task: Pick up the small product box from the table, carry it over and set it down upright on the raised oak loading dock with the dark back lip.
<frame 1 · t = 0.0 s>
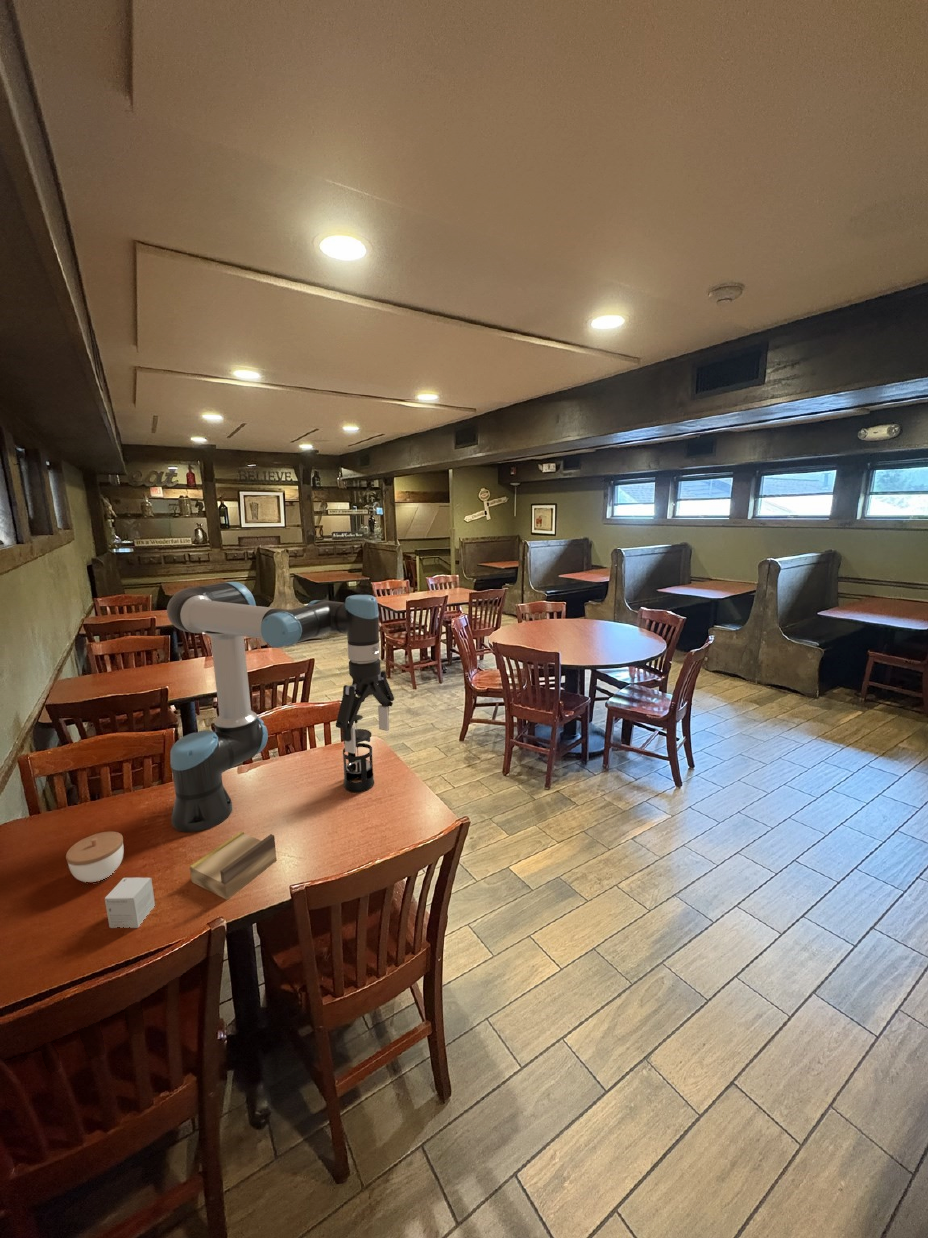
hand: (368, 740, 122), 28 cm above the table, fingers open, 13 cm apart
dock: (235, 871, 117), on the table
lidded jar: (100, 875, 116), on the table
french press: (358, 784, 154), on the table
product box: (133, 917, 103), on the table
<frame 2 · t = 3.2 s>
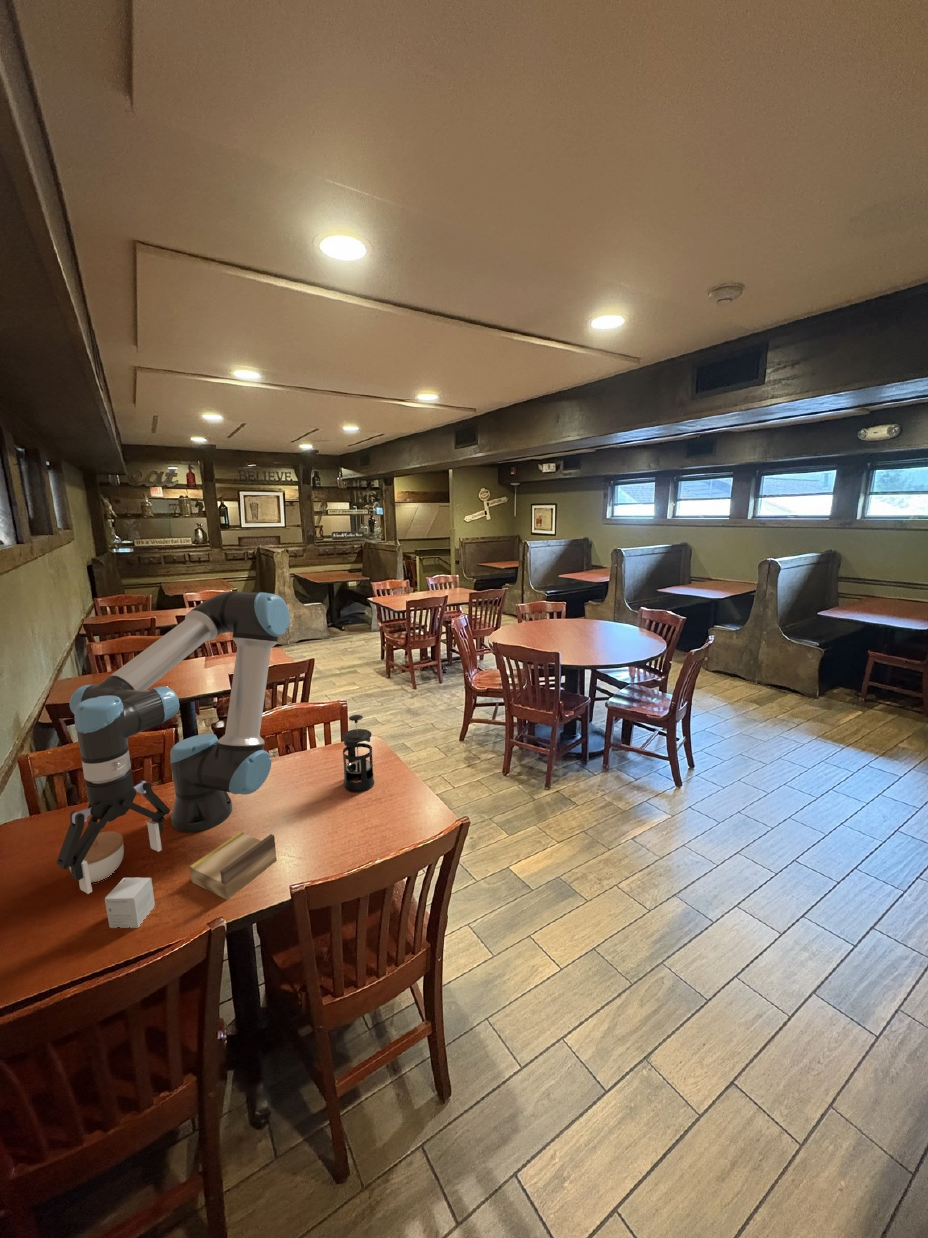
hand: (123, 868, 101), 12 cm above the table, fingers open, 13 cm apart
nothing on the table moved.
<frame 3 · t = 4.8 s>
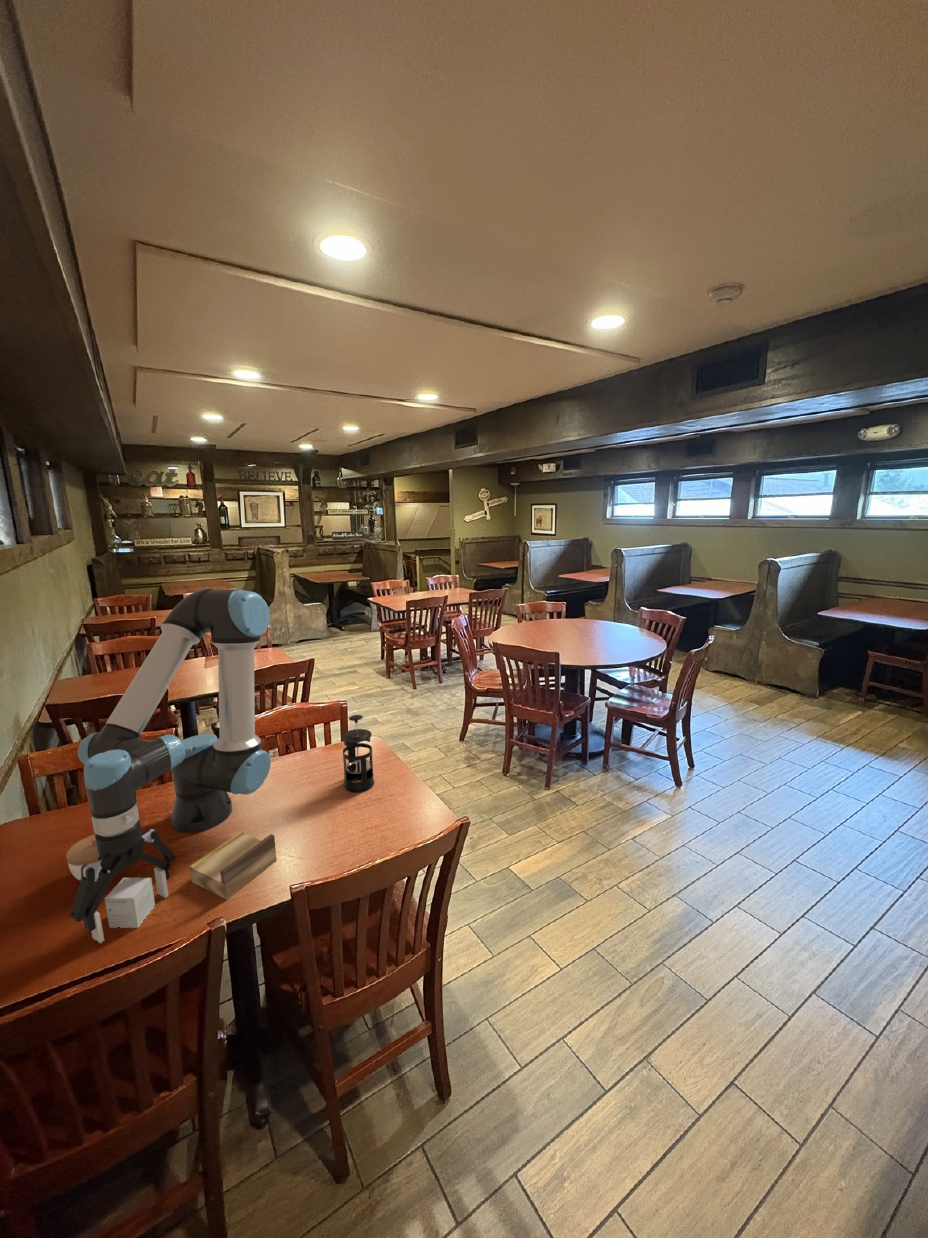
hand: (132, 916, 103), 0 cm above the table, fingers open, 12 cm apart
nothing on the table moved.
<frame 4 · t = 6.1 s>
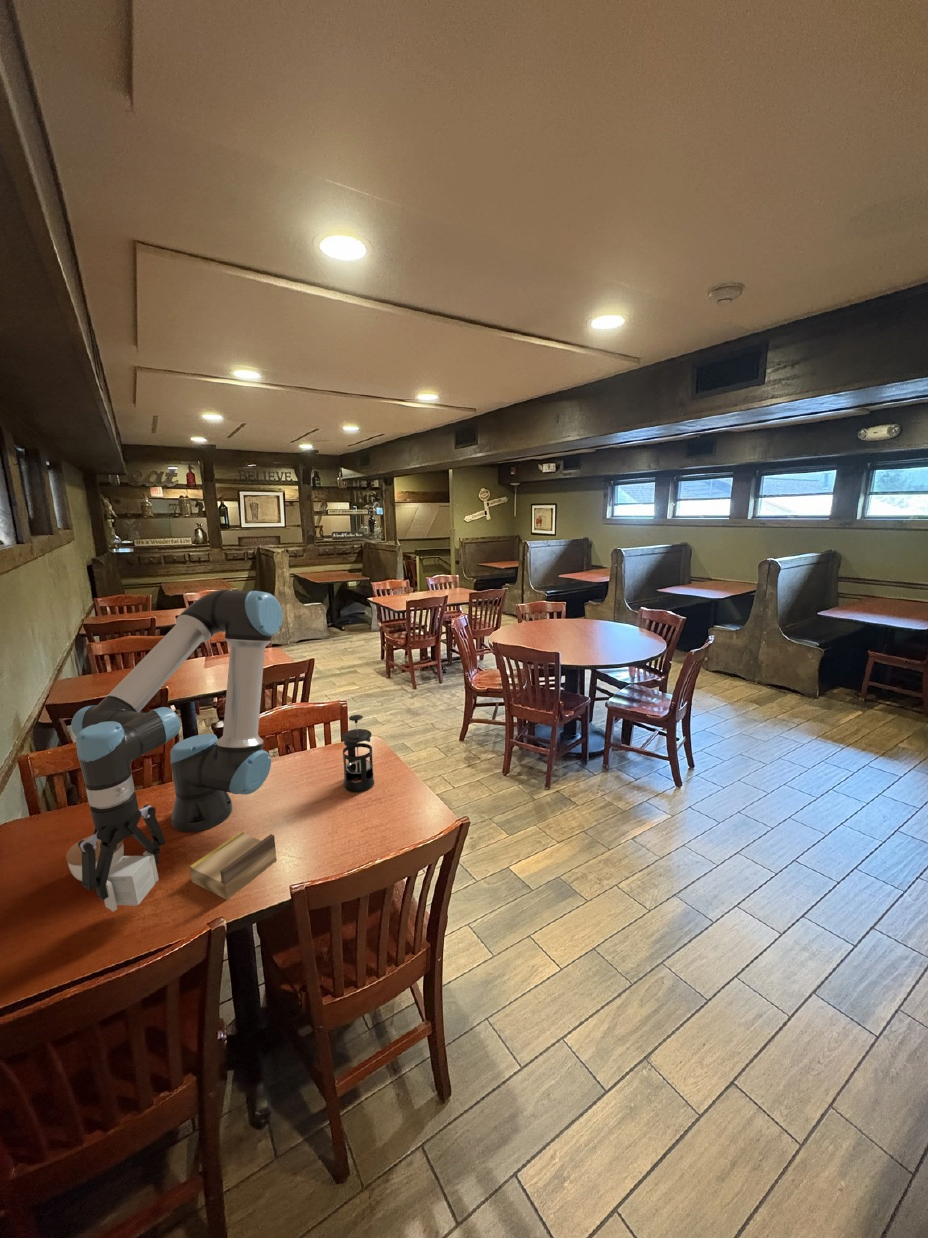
hand: (133, 893, 103), 5 cm above the table, fingers closed on product box, 8 cm apart
product box: (133, 895, 103), point 5 cm above the table, touching gripper
everything else where it was.
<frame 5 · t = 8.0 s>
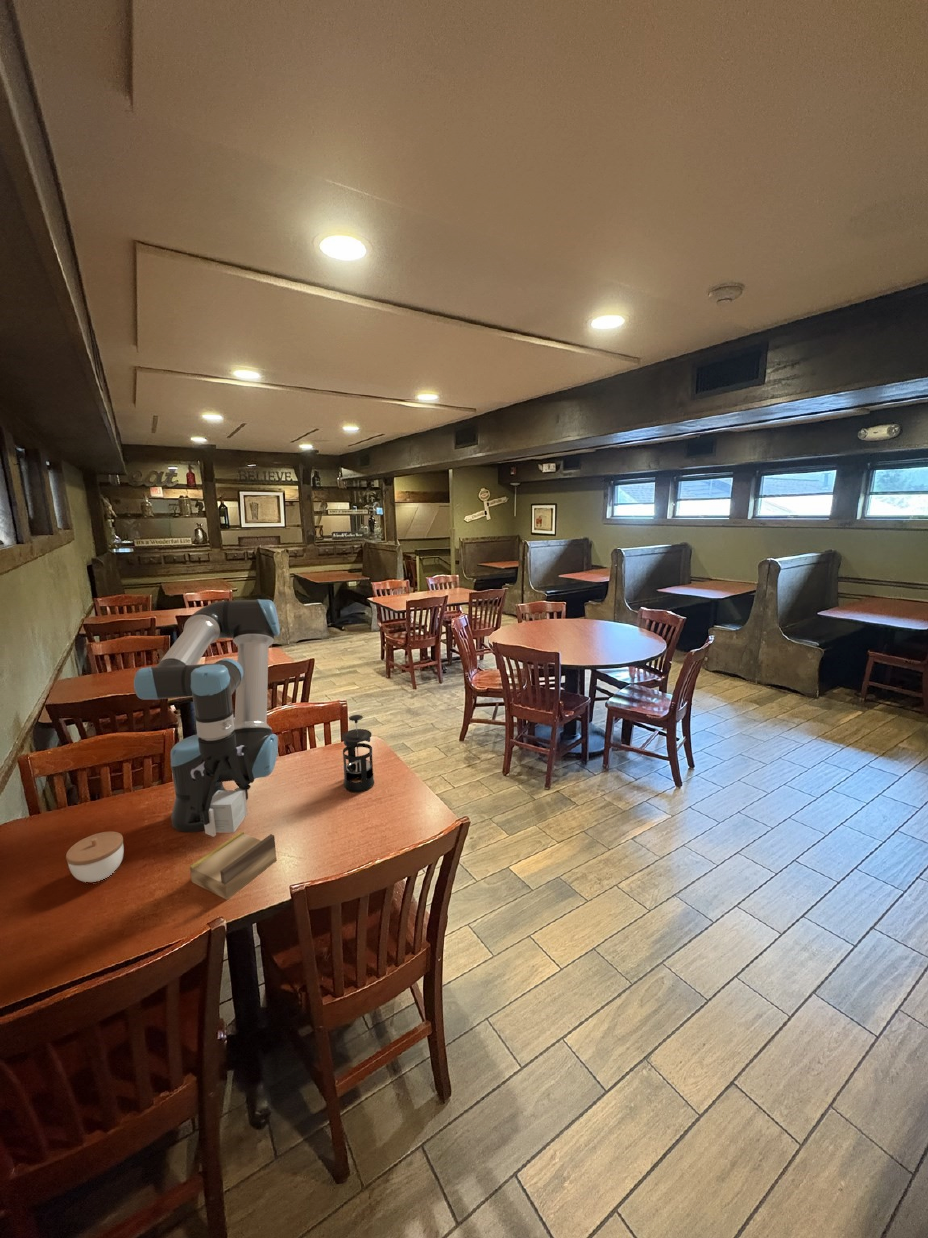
hand: (227, 823, 114), 13 cm above the table, fingers closed on product box, 8 cm apart
product box: (227, 825, 114), point 12 cm above the table, touching gripper
everything else where it was.
when the fingers open (4 cm above the table, at t = 10.2 s): product box stays where it is, resting on dock.
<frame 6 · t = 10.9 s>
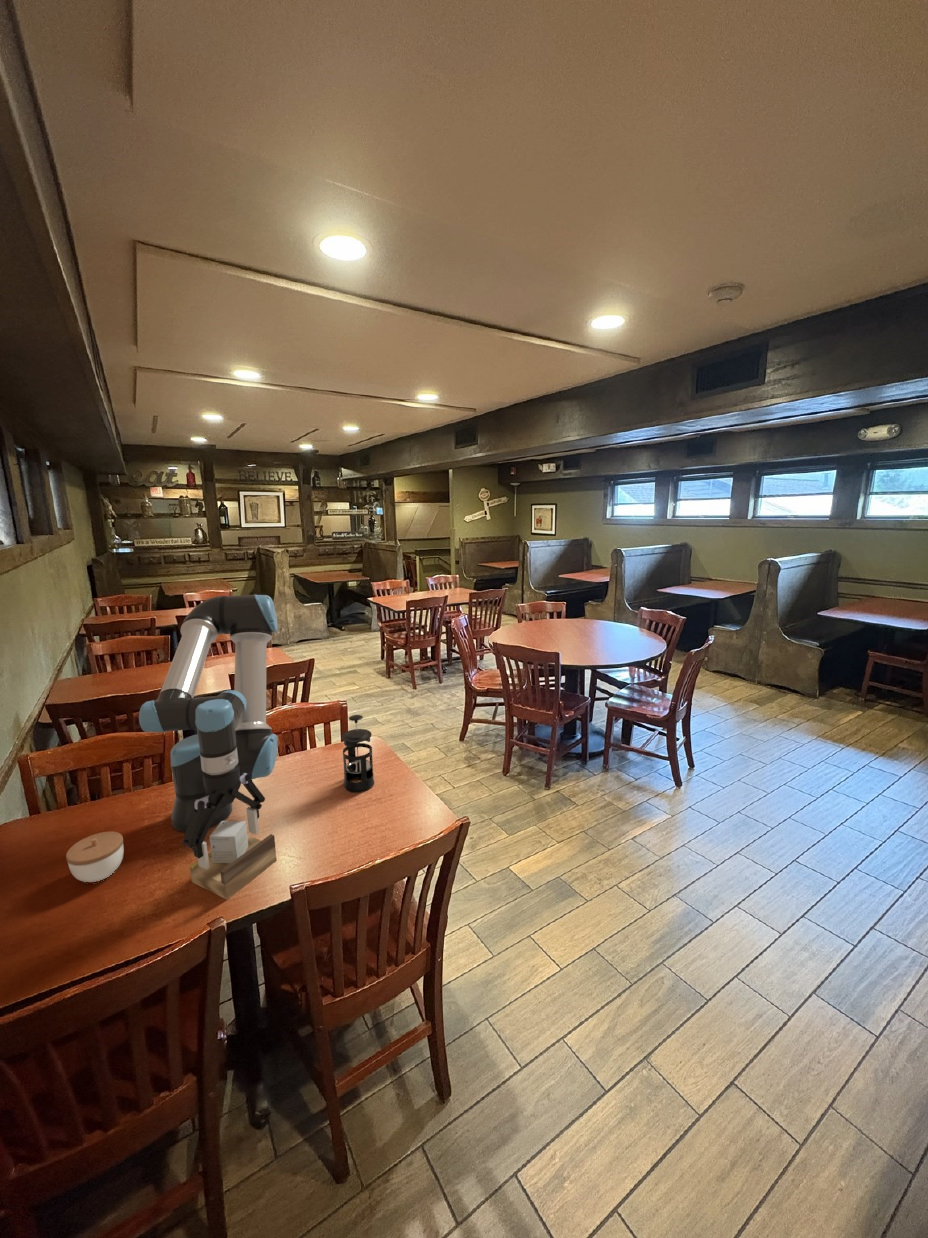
hand: (230, 849, 116), 6 cm above the table, fingers open, 13 cm apart
product box: (231, 856, 116), point 4 cm above the table, touching dock
everything else where it was.
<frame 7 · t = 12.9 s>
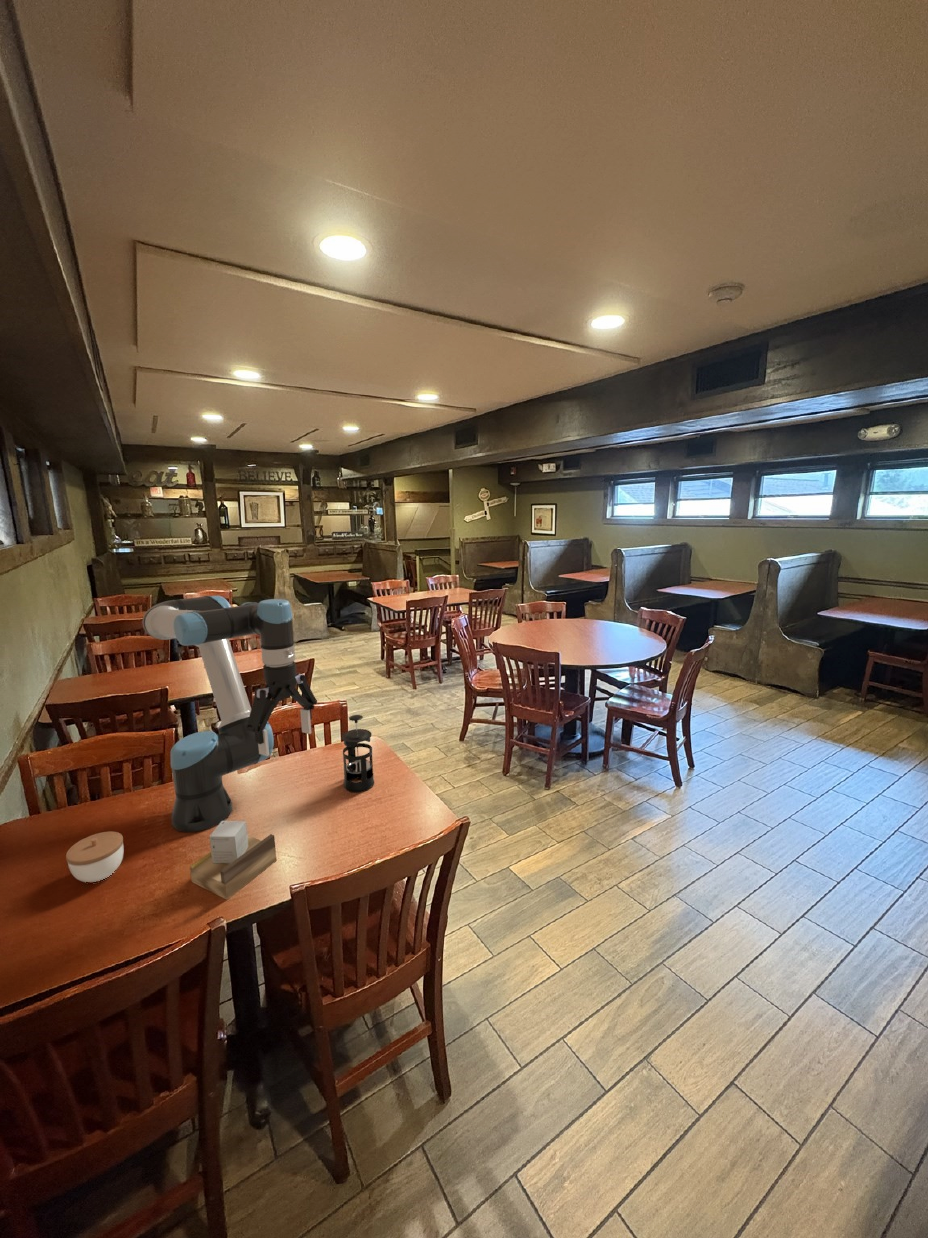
hand: (286, 743, 123), 27 cm above the table, fingers open, 13 cm apart
nothing on the table moved.
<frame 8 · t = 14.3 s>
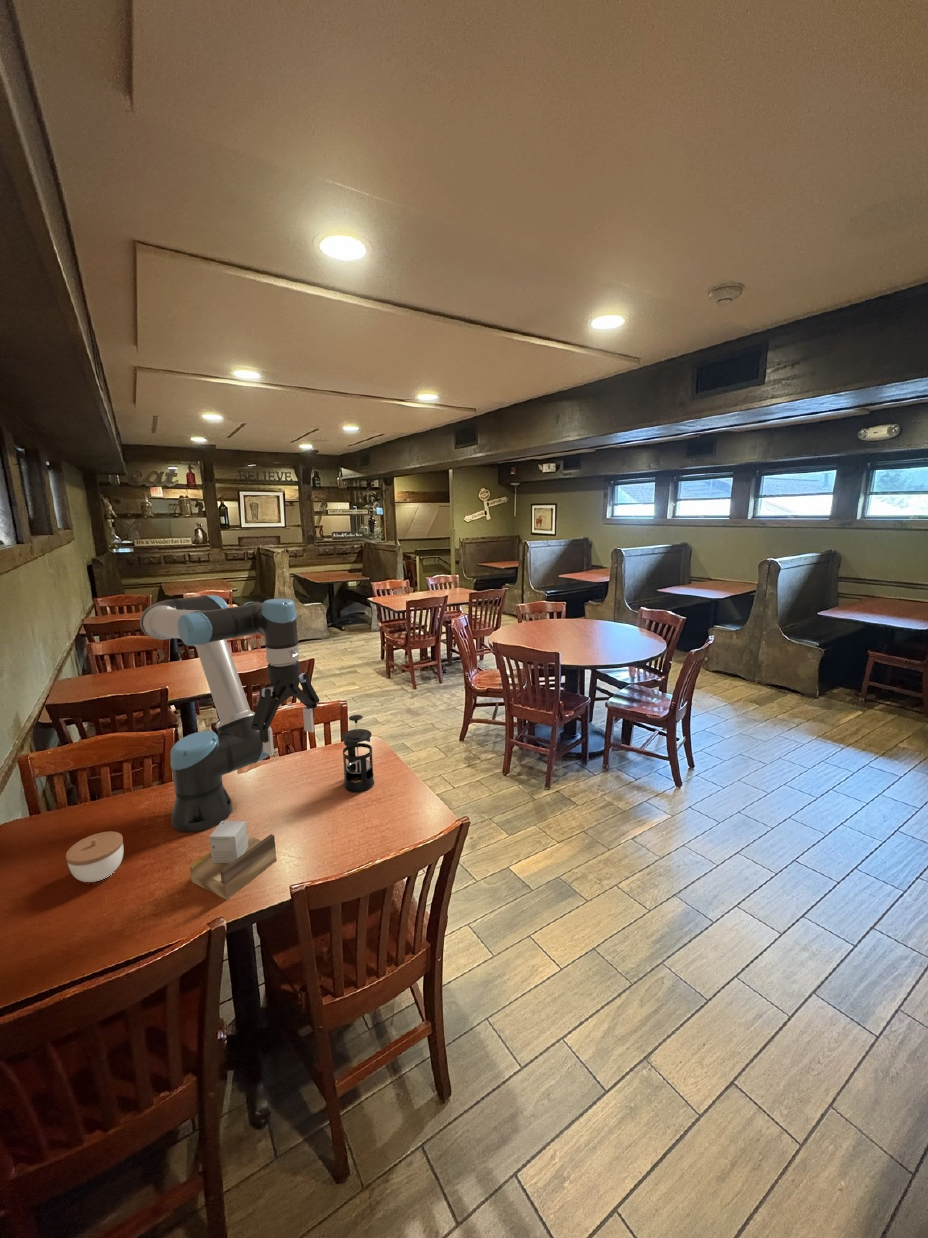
hand: (290, 741, 124), 27 cm above the table, fingers open, 13 cm apart
nothing on the table moved.
at the end: product box inside the target area on the dock (0.5 cm from its centre), point 3.8 cm above the dock's base; product box tilted 0°; the gripper is holding nothing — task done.
